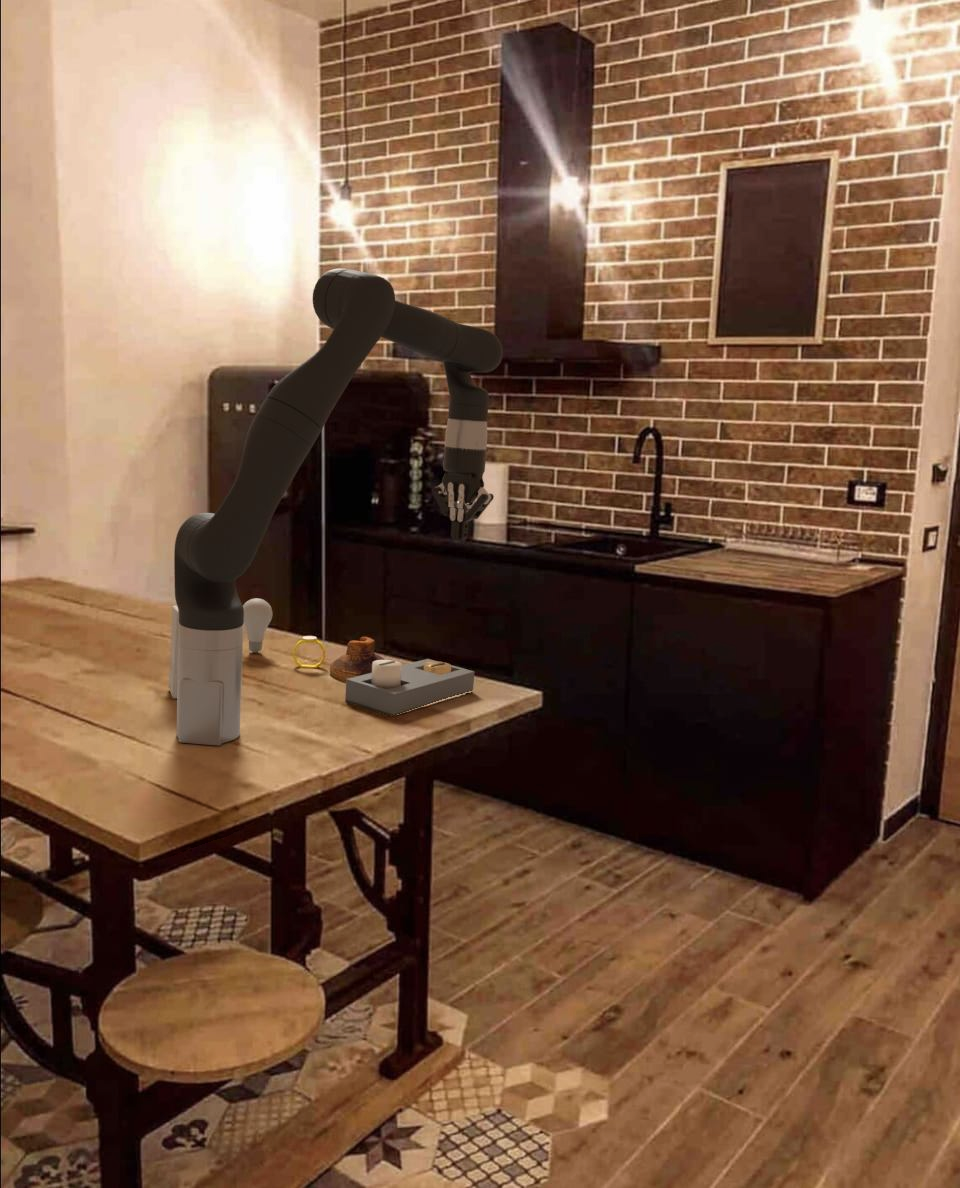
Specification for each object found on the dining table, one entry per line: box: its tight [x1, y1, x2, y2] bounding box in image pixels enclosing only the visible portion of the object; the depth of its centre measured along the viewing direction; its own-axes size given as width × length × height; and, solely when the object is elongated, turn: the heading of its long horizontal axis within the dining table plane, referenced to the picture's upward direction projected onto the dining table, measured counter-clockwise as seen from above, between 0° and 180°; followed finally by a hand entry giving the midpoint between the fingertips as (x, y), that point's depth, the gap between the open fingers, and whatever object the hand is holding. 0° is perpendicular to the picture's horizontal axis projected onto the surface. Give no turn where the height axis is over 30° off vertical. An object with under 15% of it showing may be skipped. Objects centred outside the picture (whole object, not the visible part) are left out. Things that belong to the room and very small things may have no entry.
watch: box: [292, 635, 326, 669], centre depth 192 cm, size 6×3×6 cm, turn 96°
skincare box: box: [168, 605, 179, 699], centre depth 170 cm, size 8×6×15 cm
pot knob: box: [371, 659, 403, 689], centre depth 172 cm, size 5×5×4 cm
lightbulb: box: [242, 597, 274, 654], centre depth 199 cm, size 6×6×11 cm
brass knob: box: [424, 660, 451, 675], centre depth 184 cm, size 5×5×4 cm
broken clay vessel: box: [329, 636, 386, 682], centre depth 190 cm, size 12×12×7 cm
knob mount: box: [344, 658, 475, 717], centre depth 179 cm, size 22×11×4 cm, turn 143°
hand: (458, 541), depth 184 cm, fingers closed
